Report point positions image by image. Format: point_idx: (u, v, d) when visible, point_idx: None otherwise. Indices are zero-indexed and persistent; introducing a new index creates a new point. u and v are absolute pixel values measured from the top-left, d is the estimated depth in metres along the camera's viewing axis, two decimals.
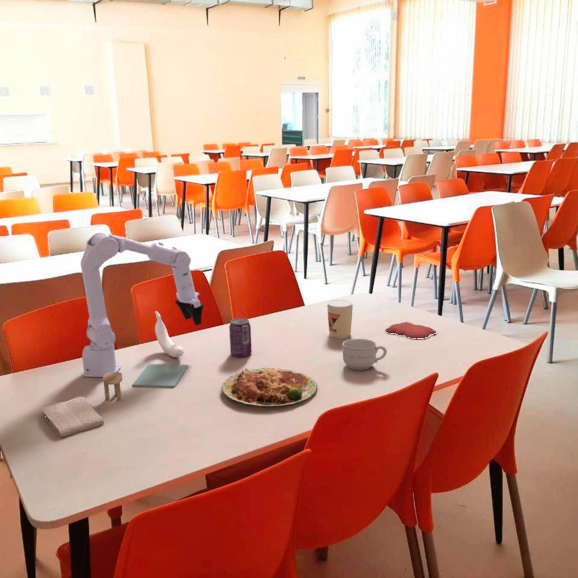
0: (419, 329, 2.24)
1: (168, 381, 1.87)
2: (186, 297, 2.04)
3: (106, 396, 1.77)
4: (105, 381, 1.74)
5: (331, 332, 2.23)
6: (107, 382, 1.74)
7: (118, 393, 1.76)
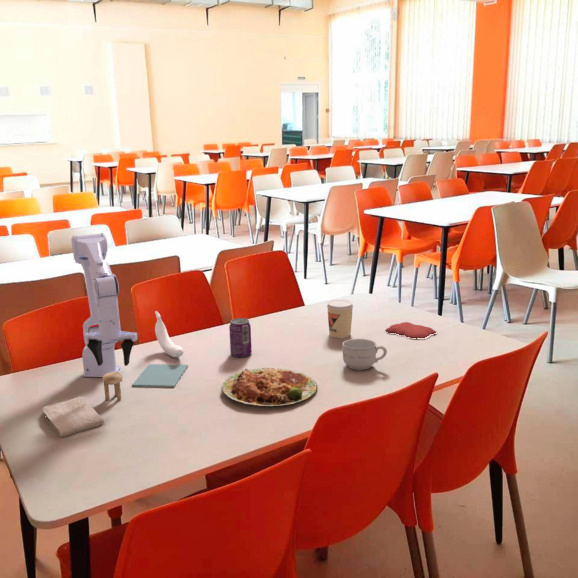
0: (419, 329, 2.24)
1: (168, 381, 1.87)
2: None
3: (106, 396, 1.77)
4: (105, 381, 1.74)
5: (331, 332, 2.23)
6: (107, 382, 1.74)
7: (118, 393, 1.76)
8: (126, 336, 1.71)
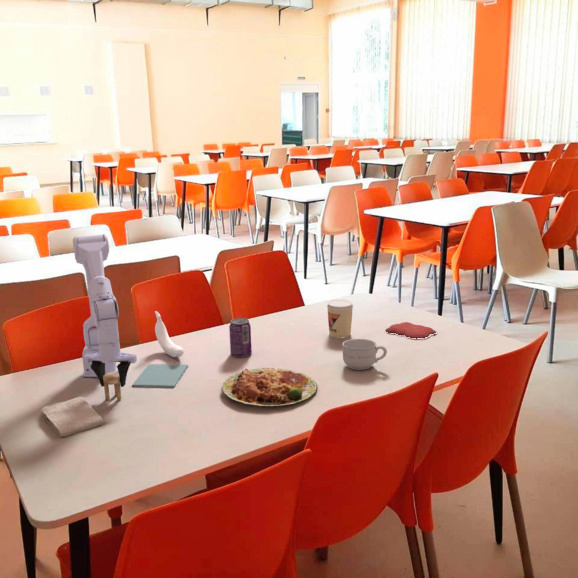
0: (419, 329, 2.24)
1: (168, 381, 1.87)
2: None
3: (106, 396, 1.77)
4: (105, 381, 1.74)
5: (331, 332, 2.23)
6: (107, 382, 1.74)
7: (118, 393, 1.76)
8: (125, 358, 1.73)
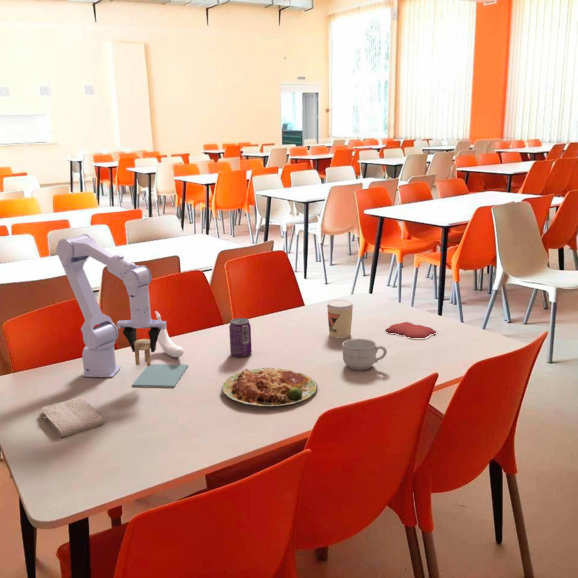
0: (419, 329, 2.24)
1: (168, 381, 1.87)
2: None
3: (136, 361, 1.85)
4: (136, 347, 1.82)
5: (331, 332, 2.23)
6: (138, 348, 1.82)
7: (148, 359, 1.84)
8: (156, 324, 1.81)
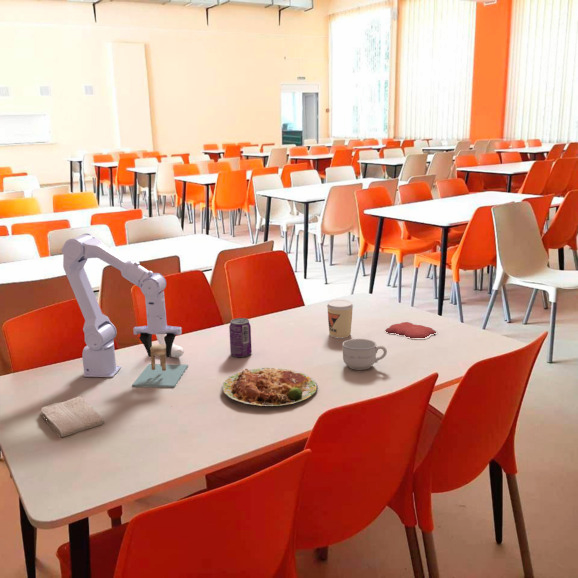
0: (419, 329, 2.25)
1: (168, 381, 1.87)
2: None
3: (152, 366, 1.90)
4: (152, 352, 1.88)
5: (331, 332, 2.23)
6: (154, 353, 1.88)
7: (163, 364, 1.89)
8: (172, 330, 1.87)
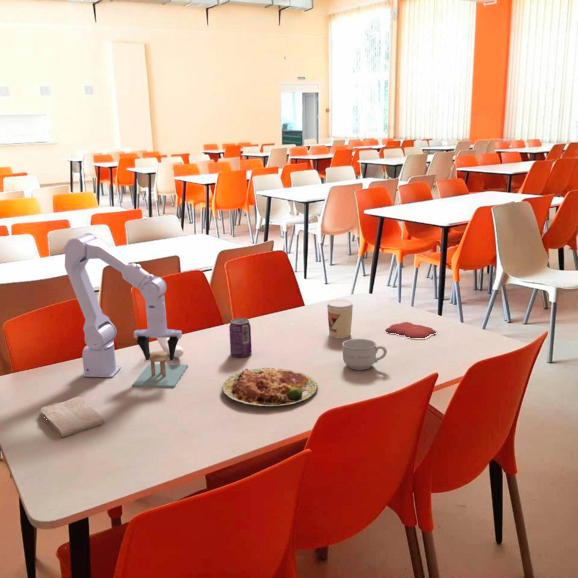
0: (419, 329, 2.25)
1: (168, 381, 1.87)
2: None
3: (152, 372, 1.91)
4: (151, 358, 1.89)
5: (331, 332, 2.23)
6: (153, 359, 1.88)
7: (163, 370, 1.90)
8: (172, 333, 1.87)
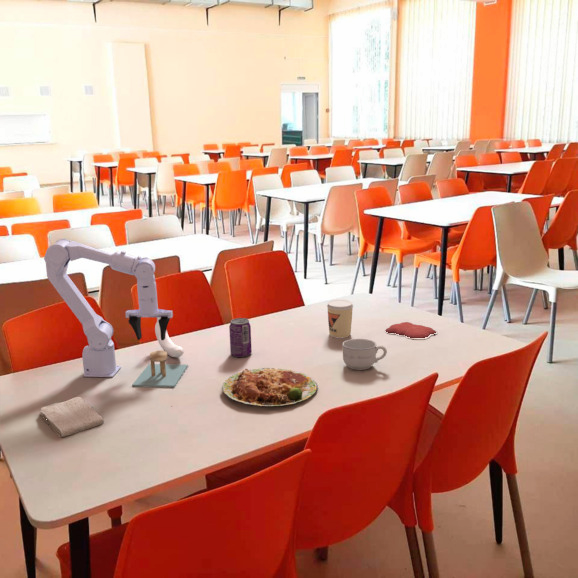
0: (419, 329, 2.25)
1: (168, 381, 1.87)
2: None
3: (152, 372, 1.91)
4: (151, 358, 1.89)
5: (331, 332, 2.23)
6: (153, 359, 1.88)
7: (163, 370, 1.90)
8: (163, 313, 1.91)
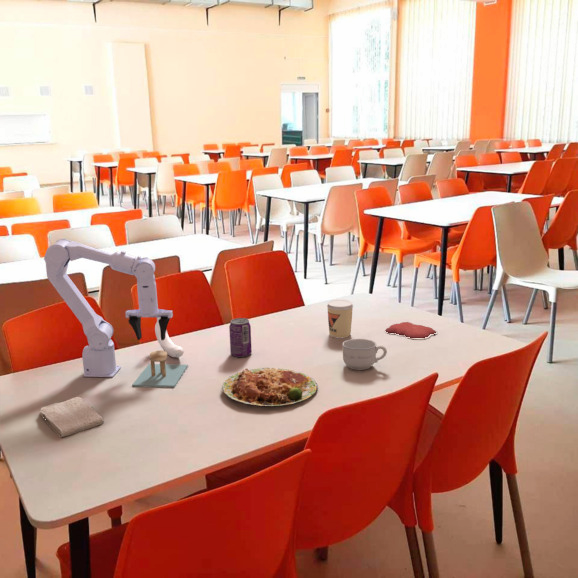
0: (419, 329, 2.25)
1: (168, 381, 1.87)
2: None
3: (152, 372, 1.91)
4: (151, 358, 1.89)
5: (331, 332, 2.23)
6: (153, 359, 1.88)
7: (163, 370, 1.90)
8: (163, 313, 1.91)
